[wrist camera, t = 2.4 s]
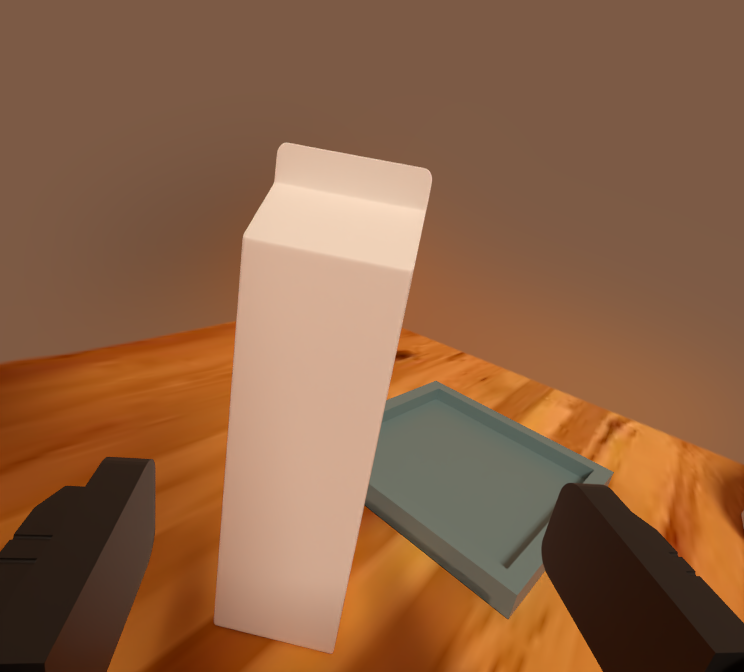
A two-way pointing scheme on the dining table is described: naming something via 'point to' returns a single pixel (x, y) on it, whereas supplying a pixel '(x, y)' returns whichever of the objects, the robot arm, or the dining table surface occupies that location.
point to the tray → (471, 488)
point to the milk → (311, 385)
